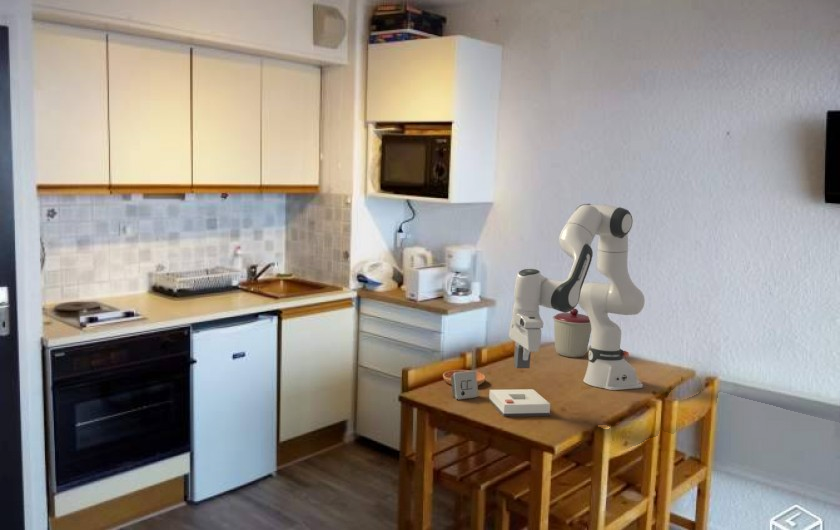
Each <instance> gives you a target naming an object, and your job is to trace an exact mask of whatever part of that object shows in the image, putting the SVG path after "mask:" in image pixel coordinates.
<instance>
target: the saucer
mask: <svg viewBox="0 0 840 530" xmlns="http://www.w3.org/2000/svg"><path fill="white" fill-rule="evenodd" d="M466 371H471V370H469V369H468V370H467V369H453V370H452V369H451V370H447V371H445V372H444V373H442V378H443V379H444V381H445V382H446V383H447V384H449V385H450V386H452V382H451V375H453V374H454V373H457V372H466ZM476 375H477V386H478V387H479V386H480V385H482V384H483V383H484V382H485V381H486V376H485V374H484V373H481V372H478V371H476ZM454 387H455V385H454Z"/></svg>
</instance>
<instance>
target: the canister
mask: <svg viewBox="0 0 840 530" xmlns="http://www.w3.org/2000/svg"><path fill="white" fill-rule="evenodd" d="M552 319H553V324H554V326H553V327H554V328H553V329H554V349H555V351H556V353H557V355H561V356H563V357H567V358H581V357H584V356H585V355H586V353H587V351H588V347H589V343H590V340H591V323H590V320H589V317H588V315H587V314H582V313H579V310H578V309H577V308H576V307H575V308H574V309H572V310H571V311H569V312H566V313H564V312H560V313H557V314H555V315H553V316H552Z"/></svg>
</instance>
